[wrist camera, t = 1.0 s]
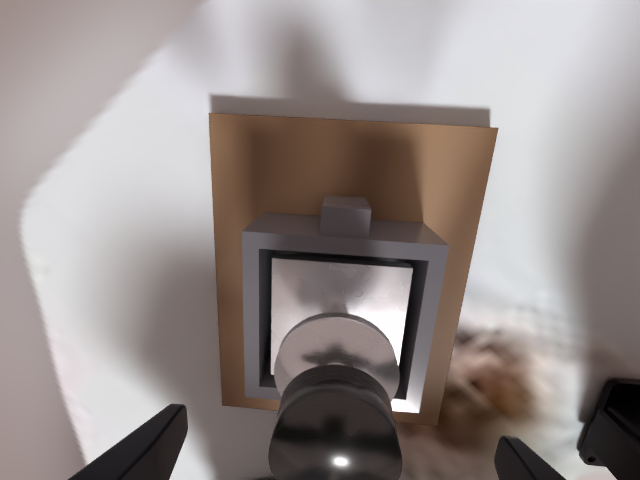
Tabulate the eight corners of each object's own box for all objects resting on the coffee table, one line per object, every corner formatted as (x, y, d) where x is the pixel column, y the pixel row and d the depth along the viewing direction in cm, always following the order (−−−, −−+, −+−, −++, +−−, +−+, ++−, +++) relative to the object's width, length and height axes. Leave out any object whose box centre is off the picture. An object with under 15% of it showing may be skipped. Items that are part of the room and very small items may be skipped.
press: (427, 199, 16) (454, 215, 12) (402, 358, 19) (418, 413, 15) (264, 189, 16) (241, 202, 12) (264, 346, 19) (245, 396, 15)
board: (490, 128, 15) (498, 127, 15) (433, 415, 21) (436, 425, 20) (214, 114, 16) (208, 112, 15) (226, 396, 21) (222, 405, 20)
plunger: (410, 263, 14) (478, 375, 7) (393, 376, 15) (434, 554, 9) (274, 253, 14) (213, 352, 7) (273, 366, 16) (222, 530, 9)
